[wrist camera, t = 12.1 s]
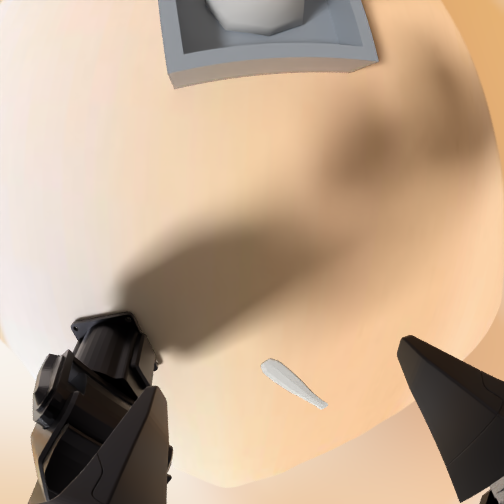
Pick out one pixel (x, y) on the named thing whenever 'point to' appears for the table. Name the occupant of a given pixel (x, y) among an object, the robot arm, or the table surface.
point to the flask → (257, 15)
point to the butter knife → (290, 382)
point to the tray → (264, 43)
